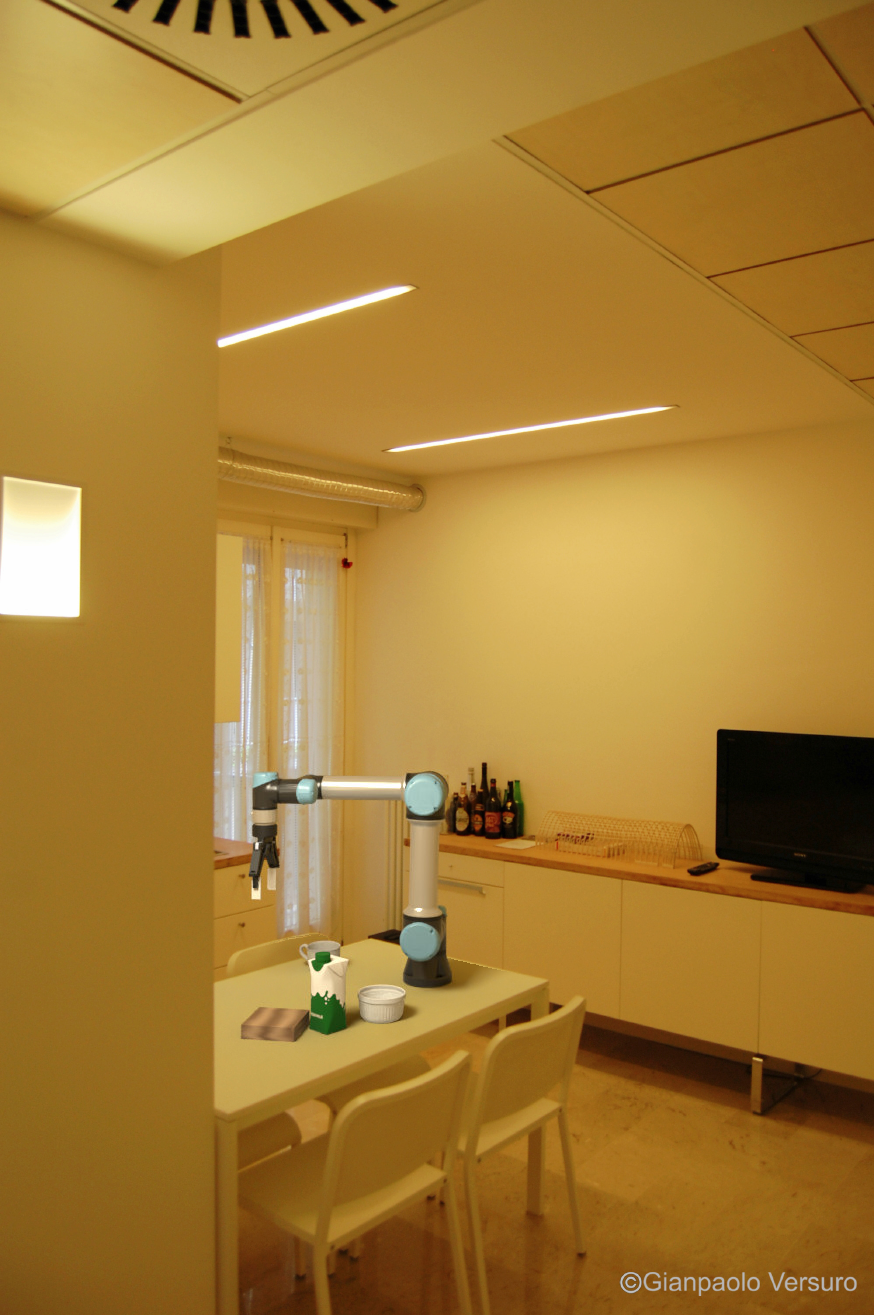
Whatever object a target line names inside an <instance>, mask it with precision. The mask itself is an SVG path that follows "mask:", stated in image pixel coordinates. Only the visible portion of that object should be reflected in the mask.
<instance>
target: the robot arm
mask: <svg viewBox="0 0 874 1315" xmlns="http://www.w3.org/2000/svg"><path fill="white" fill-rule="evenodd" d="M278 775H279V774H278V772H276V771H258V772H255V773H253V776H252V787H251V789H252V794H251V795H252V811H251V813H250V814H251V817H252V818H251V821H252V823H253V824H252V826H251V836H252V837H254V838H257V841H256V842H255V841H254V842H252V852H251V859H250V865H249V870H248V878H251V900H262V876H261V874H262V870H263V866H264V862H265V860H266V863H267V866H268V868H267V876H266V877H267V878H266V879H267V883H266V884H267V885H266V886H267V887H266V888H267V891H268V890H269V891H276V890H277V877H278V875H277V874H278V870H277V869H279V868H280V866H281V864H280V858H279V853H278V846H277V836H278V823H277V822H279V821H278V820H279V819H278V818H279V817H278V811H279V810H278V807H279V806H278V804H280V805H281V804H287V805H288V804H289V805H302V806H305V805H314V804H315V803H316V802H317V800H319V801H322V800H333V801H334V800H335V801H337V800H343V801H345V800H346V801H401V802H403V803H404V804H405V819H406V820H407V822H408V823H409V824H410V833H409V834H410V835H409V836H410V837H409V838H410V841H409V871H408V872H409V873H408V874H409V875H408V901H407V902H408V905H407V906H406V907H405V908H404V909H403V910H402V928H401V929H402V930H401V933H400V935H399V946H400V949H401V952H402V953H404V955H405V956H406V957H407V959H406V962H405V965H404V969H403V972H402V980H403V983H404V984H406V985H409V986H413V987H419V988H437V987H442V986H447V985H449V984H451V983H452V981H453V971H452V969H451V966H450V963H449V959H448V955H447V917H448V914H447V908H446V906H445V905H443V904H438V896H439V893H438V892H439V891H438V890H439V865H440V863H439V859H440V828H441V824H442V823H444V822H445V821H446V801H447V799H448V797H449V792H450V791H449V790H450V787H449V784H448V781H447V779H446V778H445V776H443V775H442V774H441V773H439V772H437V771H434V770H428V771H427V770H426V771H421V772H420V771H419V772H418V771H417V772H406V773H404V774H403V775H318V774H317V775H316V774H305V775H302V776H300V777H297V778H279V776H278Z"/></svg>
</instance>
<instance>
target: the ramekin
mask: <svg viewBox="0 0 874 1315" xmlns="http://www.w3.org/2000/svg"><path fill="white" fill-rule="evenodd" d="M406 997H407V992H406V990H405V989H404V988H402V987H400V986H398V985H392V984H391V985H390V984H373V985H372V984H371V985H367V986H364V987H361V988H359V990H358V991H357V999H358V1009H359V1015H360V1017H361V1018H362V1020H364V1021H365V1022H368V1023H371V1024H372V1023H373V1024H378V1025H379V1024H390V1022H391V1023H395V1022H397V1021H399V1020H400V1019H401V1018H402V1016H403V1013H404V1009H405V1008H404V1007H405V999H406ZM394 1021H395V1022H394Z"/></svg>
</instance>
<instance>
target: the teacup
mask: <svg viewBox="0 0 874 1315" xmlns="http://www.w3.org/2000/svg"><path fill="white" fill-rule="evenodd" d="M304 948H305V949H306V953H305V952H304ZM298 950H299V954H300V956H301V957H302V958H303V959H304V960H306V962H307V965H308V967H309V962H308V960H311V959H314V958H315V953H317V952H322V951H325V952H330V954H331V955H334V956H337V957H341V944H340V943H339V942H337V941H333V940H317V941H313V942H310V943H309V944H308V943H302V944H300V946H299V949H298Z"/></svg>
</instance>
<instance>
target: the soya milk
mask: <svg viewBox="0 0 874 1315" xmlns="http://www.w3.org/2000/svg"><path fill="white" fill-rule="evenodd" d="M308 962H309V966H308V967H309V972H310V1023H309V1025H308V1027H309V1029H310V1030H313V1031H315V1032H318V1033H320V1034H324V1035H326V1036H328V1035H331V1034H333V1033H336V1032H339V1031H342V1030H345V1029H347V1028H348V1025H347V1013H346V1012H347V1011H346V994H347V992H346V990H347V989H346V985H347V984H346V982H347V981H346V979H347V977H346V976H347V971H348V966H349V962H350V961H349V959H348V958H344V957H341V956H340V957H337V956H334V955H331V954H330V952H325V951H322V952H317V953H315V958H314V959H311V960H308ZM308 962H307V963H308Z"/></svg>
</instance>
